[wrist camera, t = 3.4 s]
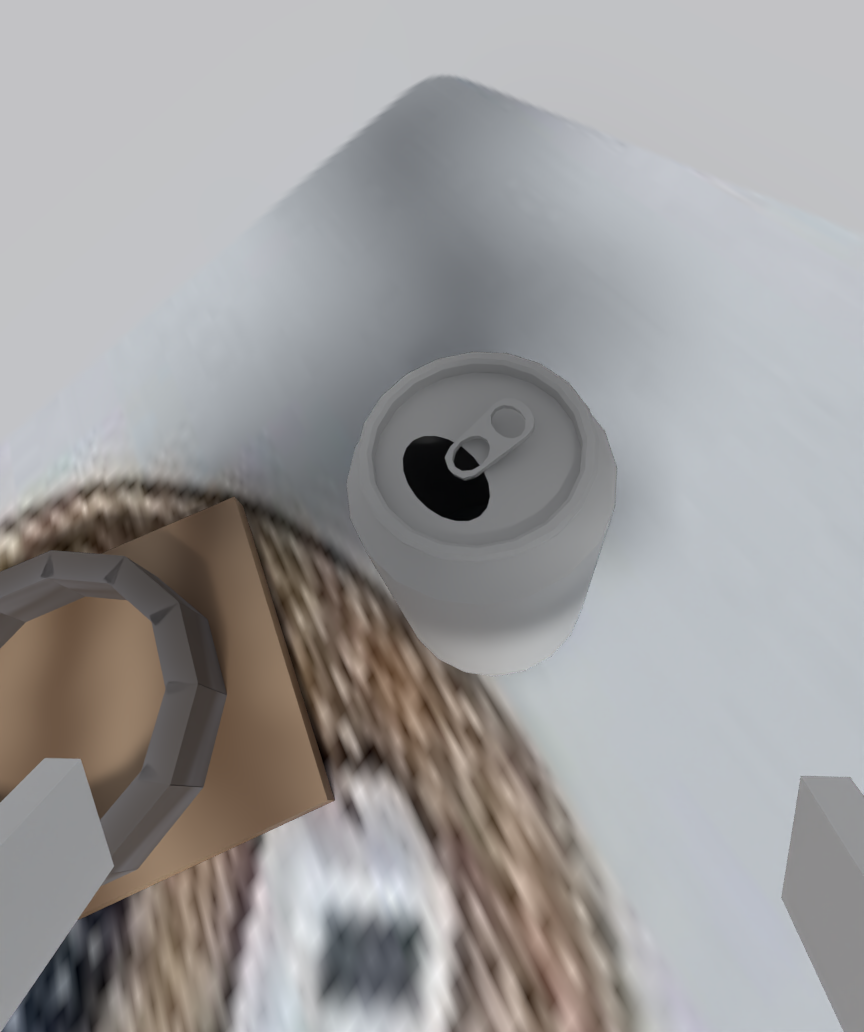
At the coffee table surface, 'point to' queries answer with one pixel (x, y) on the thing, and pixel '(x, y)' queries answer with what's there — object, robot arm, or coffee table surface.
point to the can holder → (159, 694)
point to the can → (484, 506)
